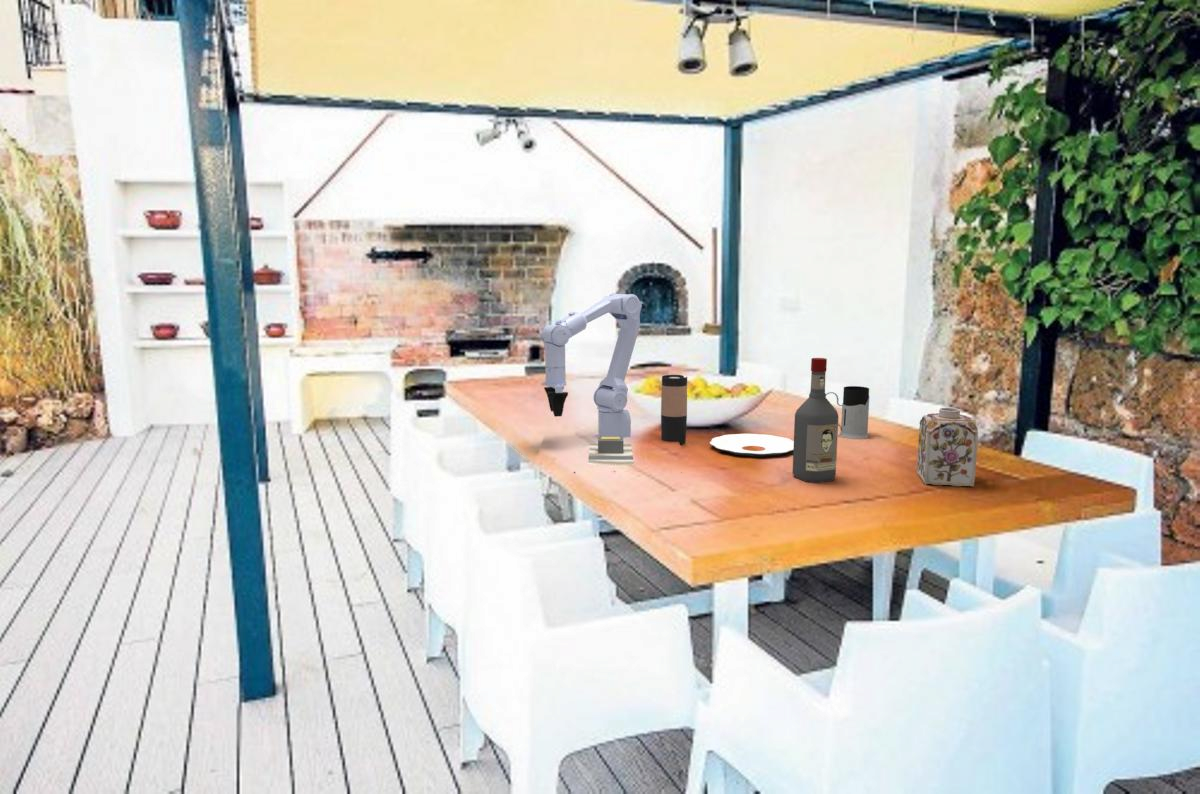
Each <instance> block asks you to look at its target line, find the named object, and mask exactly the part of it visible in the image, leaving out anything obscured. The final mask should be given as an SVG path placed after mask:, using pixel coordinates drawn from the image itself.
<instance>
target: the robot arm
mask: <svg viewBox="0 0 1200 794" xmlns="http://www.w3.org/2000/svg"><path fill="white" fill-rule="evenodd" d="M642 307H643V305H642V303H641V301H640V299H639V298H638V296H637V295H636V294H633V293H629V294H624V293H617V292H612V293H610V294H609V295H606V296H603V298H602V299H600V300H599V301H598V302H596V303H595V304H592V305H591V306H590V307H589V308H587V309H585V310H584V311H582V312H579V311H570V312H569V313H568V315H567V316H565V317H563V318H562V319H557V320H555V324H547V325H546V326H544V327H543V329H542V332H541V334H540V340H541V342H542V343H543V344H544V345H543V347H544V358H545V361H544V362H545V363H544V364H545V365H544V367H545V368H544V369H545V371H544V372H545V381H541V385H542V386H545V387H543V389H544V391H545V394H546V397H547V399H548V405H549V410H550V412H552V413H553V416H554V417H555V418H556V417H562V416H563V414H564V413H563V412H564V406H565V402H566V400H567V397H568V395H569V392H567V391H564V389H565V386H567V381H566V376H567V375H566V374H567V373H566V345H567V343H568V342H569V340H570V339H571V338H572V337H574V336H576V335H578V334H579V333H581V332H583V331H585V330H586V328H587V326H588V325H587V324H589V323H590V322H592V321H594V320H596V319H598V318H600V317H602V316H604V315H606V314H610V316H612V317H613V318H614V319H615V320H616V321H617V323H618V325H619V326H620V329H619V332H618V336H617V338H616V339H617V340H616V343H615V346H614V350H613V353H612V357H611V360H610V362H609V363H610V364H609V366H608V370H607V374H606V377H604V378H603V379H602V380H601V381H599V385H598V386H597V389H595V390H594V393H593V402H594V404H595V405H596V406H597V411H598V412H597V413H598V421H597V422H598V423H597V426H598V428H597V429H598V432H597V433H598V435H596V437H623V438H627V437H631V432H632V429H631V424H632V421H631V419H632V418H631V415H630V411H629V410H628V409H625V407H626V406H627V404H628V391H629V388H628V387H627V385H626V383H625V380H626V376H627V374H628V369H629V367H630V366H629V365H630V362H631V359H632V355H633V352H634V349H635V344H636V341H637V337H638V335H639V331H640V327H641V318H640V317H641V316H640V315H641V311H642Z"/></svg>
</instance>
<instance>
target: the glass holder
mask: <svg viewBox="0 0 1200 794" xmlns="http://www.w3.org/2000/svg"><path fill="white" fill-rule="evenodd" d="M825 394H826V396H828V395H829V394H833V395H834V396H835V397H836V404H837V406H839V407H842V408H841V423H840V424H839V423H838V428H839V429H840V433H838V436H839V437H841V438H843V439H844V438H845V439H850V440H865V439H868V438H869V437H870V436H869V433H868V430H869V429H868V428H869V413H870V412H869V411H870V388H869V387H866V386H858V385H857V386H856V385H849V386H848V385H847V386H844V387H843V393H842V394H843V395H842V396H843V397H842V404H839V396H838V394H837V393H835V392H834V391H829V392H826V393H825Z"/></svg>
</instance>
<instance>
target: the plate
mask: <svg viewBox="0 0 1200 794" xmlns="http://www.w3.org/2000/svg"><path fill="white" fill-rule="evenodd" d="M709 445H710V446H712V447H713V448H716V449H717V450H720V451H722V452H725V453H727V454H732V455H737V456H743V457H744V456H745V457H760V458H761V457H775V456H781V455H784V454H787V453H790V452H793V448H794V440H791V439H790V438H789V437H784V436H777V435H772V434H760V433H735V434H733V433H732V434H723V435H721V436H716V437H713V438H712V439H711V441H710V442H709ZM751 446H752V447H761V448H764V450H748V449H744V447H751Z"/></svg>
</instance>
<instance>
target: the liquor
mask: <svg viewBox="0 0 1200 794" xmlns="http://www.w3.org/2000/svg"><path fill="white" fill-rule="evenodd" d="M810 360H811V361H810V363H811V364H810V372H811V375H810V376H811V378H810V389H809V390H810V392H809V394H808V398H807V399H806V400H805V401H804V402H803V403H802V404H800V406H799V407H798V408H797V409H796V410H795V414H794V428H793V441H794V448H793V451H792V452H793V454H792V475H793V478H796V479H799V480H801V481H804V482H805V483H816V484H818V483H825V482H832V481H833V480H834V478H835V476H836V475H837V453H838V452H837V451H838V436H839V433H838V431H839V425H838V424H839V416H840V415H839V414H838V410H837V409H836V408H835V407H834V406H833V404H832V403H831V402H830V401H829V399H828V398H827V397H826V396H827V395H826V394H827V393H826V374H827V363H828V359H827V358H824V357H813V358H812V357H811V359H810Z"/></svg>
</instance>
